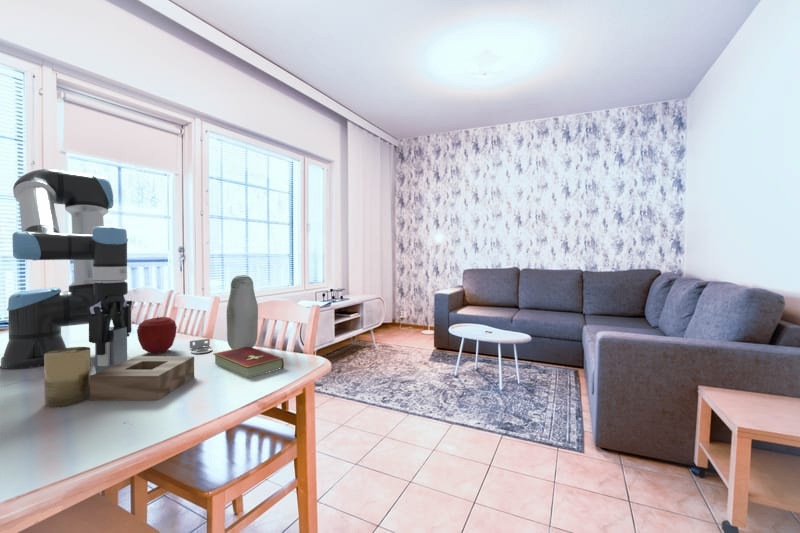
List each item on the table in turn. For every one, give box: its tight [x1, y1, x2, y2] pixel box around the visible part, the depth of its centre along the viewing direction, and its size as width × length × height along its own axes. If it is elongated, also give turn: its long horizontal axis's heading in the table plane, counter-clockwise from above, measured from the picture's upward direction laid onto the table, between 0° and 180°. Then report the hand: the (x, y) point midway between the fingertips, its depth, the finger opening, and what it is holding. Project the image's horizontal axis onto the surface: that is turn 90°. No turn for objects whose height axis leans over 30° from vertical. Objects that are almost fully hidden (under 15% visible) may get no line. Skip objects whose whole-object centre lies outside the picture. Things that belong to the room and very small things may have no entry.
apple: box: [136, 316, 178, 355], centre depth 124 cm, size 12×12×13 cm
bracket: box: [189, 338, 213, 355], centre depth 127 cm, size 7×10×4 cm, turn 36°
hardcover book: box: [213, 346, 285, 379], centre depth 111 cm, size 12×21×4 cm, turn 52°
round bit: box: [43, 346, 92, 409], centre depth 84 cm, size 8×8×12 cm
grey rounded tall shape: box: [226, 274, 259, 350], centre depth 127 cm, size 10×10×28 cm
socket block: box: [89, 355, 195, 401], centre depth 92 cm, size 16×16×6 cm
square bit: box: [94, 326, 128, 374], centre depth 99 cm, size 5×5×14 cm
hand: (111, 362), depth 99 cm, fingers closed on square bit, 5 cm apart
